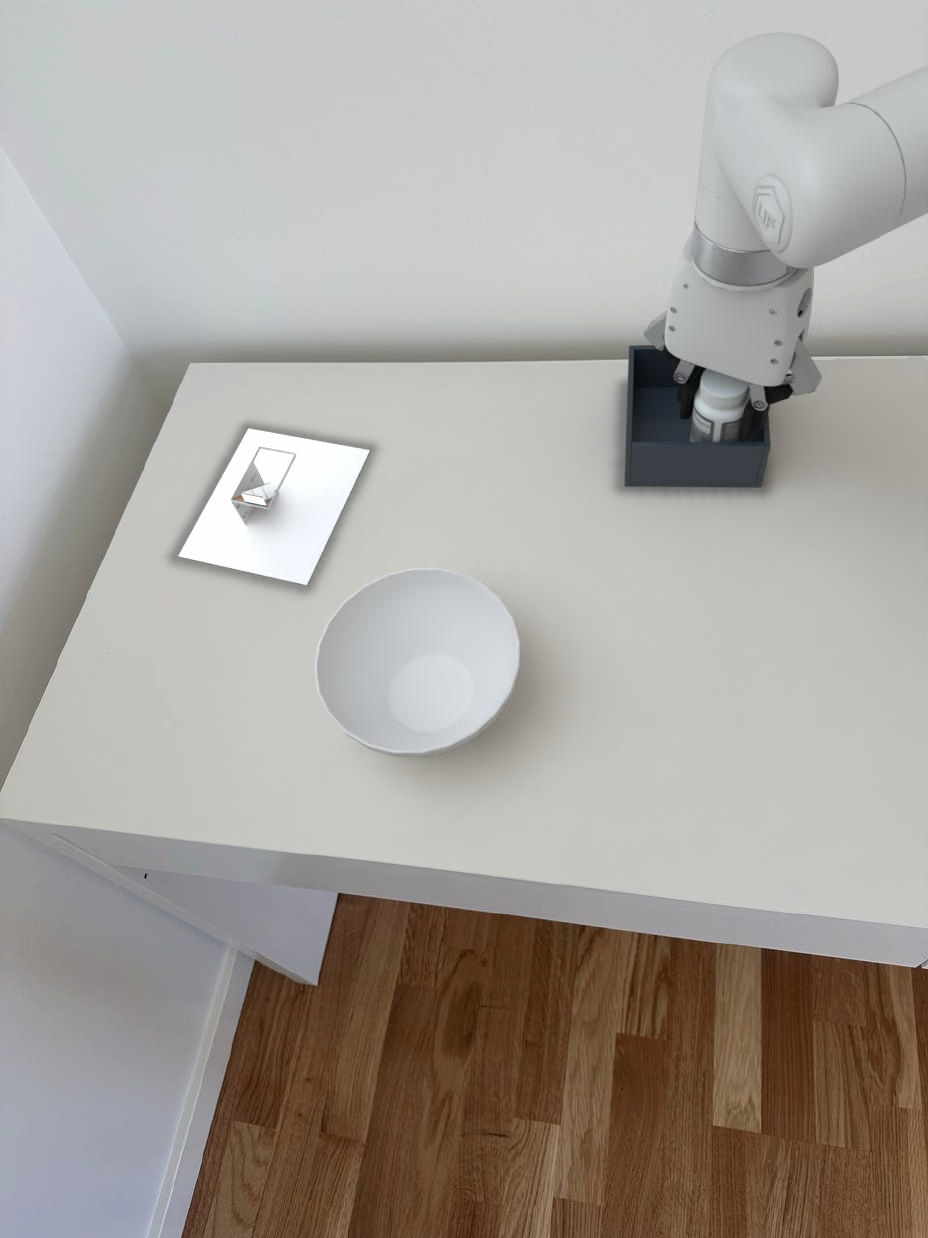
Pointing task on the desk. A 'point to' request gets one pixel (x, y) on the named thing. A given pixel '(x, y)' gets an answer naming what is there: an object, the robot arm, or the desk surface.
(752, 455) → the bin
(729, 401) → the pill bottle
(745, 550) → the desk surface
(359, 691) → the bowl
